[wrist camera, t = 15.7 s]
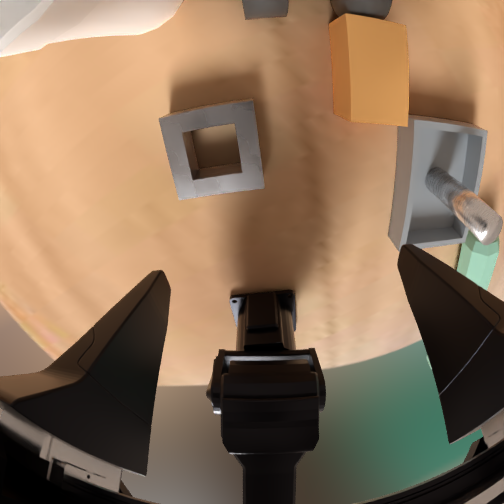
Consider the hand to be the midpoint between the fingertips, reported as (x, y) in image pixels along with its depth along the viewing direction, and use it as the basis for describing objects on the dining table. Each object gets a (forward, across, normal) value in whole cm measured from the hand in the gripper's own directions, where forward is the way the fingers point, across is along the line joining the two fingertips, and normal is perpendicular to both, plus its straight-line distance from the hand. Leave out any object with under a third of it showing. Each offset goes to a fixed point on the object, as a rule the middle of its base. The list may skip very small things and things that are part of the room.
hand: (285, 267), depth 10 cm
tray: (+12, -14, +2) cm, 19 cm away
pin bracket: (+12, +4, -2) cm, 13 cm away
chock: (+12, -7, -7) cm, 16 cm away
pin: (+12, -14, +2) cm, 19 cm away
